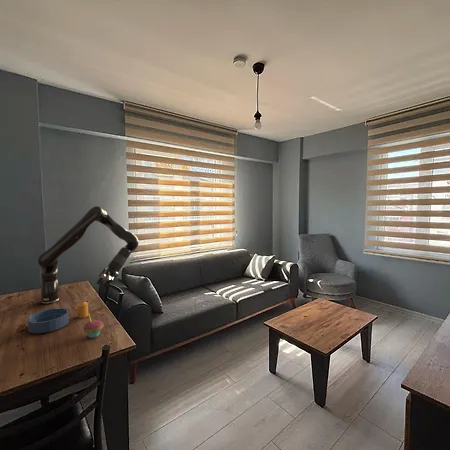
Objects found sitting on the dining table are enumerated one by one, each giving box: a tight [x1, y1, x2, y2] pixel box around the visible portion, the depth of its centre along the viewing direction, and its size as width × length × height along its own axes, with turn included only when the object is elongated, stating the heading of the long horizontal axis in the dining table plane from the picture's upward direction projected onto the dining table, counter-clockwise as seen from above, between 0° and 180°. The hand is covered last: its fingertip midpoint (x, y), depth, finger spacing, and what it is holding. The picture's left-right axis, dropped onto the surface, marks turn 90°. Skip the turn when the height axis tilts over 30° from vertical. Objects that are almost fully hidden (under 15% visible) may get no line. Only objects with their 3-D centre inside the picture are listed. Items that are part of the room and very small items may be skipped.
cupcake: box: [82, 312, 104, 339], centre depth 120 cm, size 9×8×12 cm
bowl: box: [26, 307, 70, 334], centre depth 130 cm, size 18×18×6 cm
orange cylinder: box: [77, 301, 89, 319], centre depth 141 cm, size 5×5×8 cm
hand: (101, 285), depth 149 cm, fingers open, 8 cm apart
